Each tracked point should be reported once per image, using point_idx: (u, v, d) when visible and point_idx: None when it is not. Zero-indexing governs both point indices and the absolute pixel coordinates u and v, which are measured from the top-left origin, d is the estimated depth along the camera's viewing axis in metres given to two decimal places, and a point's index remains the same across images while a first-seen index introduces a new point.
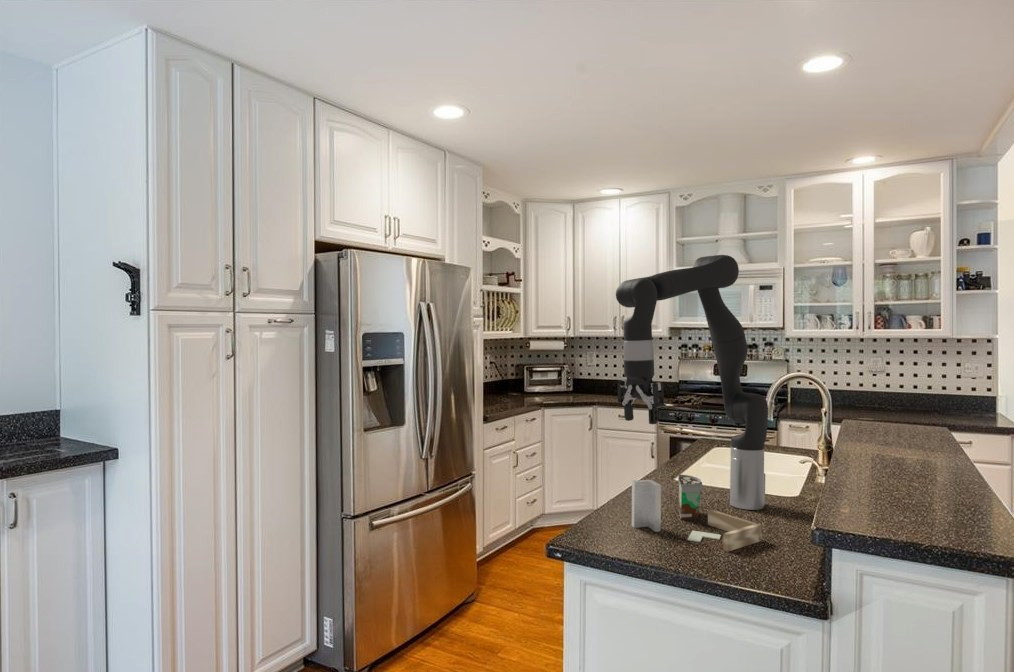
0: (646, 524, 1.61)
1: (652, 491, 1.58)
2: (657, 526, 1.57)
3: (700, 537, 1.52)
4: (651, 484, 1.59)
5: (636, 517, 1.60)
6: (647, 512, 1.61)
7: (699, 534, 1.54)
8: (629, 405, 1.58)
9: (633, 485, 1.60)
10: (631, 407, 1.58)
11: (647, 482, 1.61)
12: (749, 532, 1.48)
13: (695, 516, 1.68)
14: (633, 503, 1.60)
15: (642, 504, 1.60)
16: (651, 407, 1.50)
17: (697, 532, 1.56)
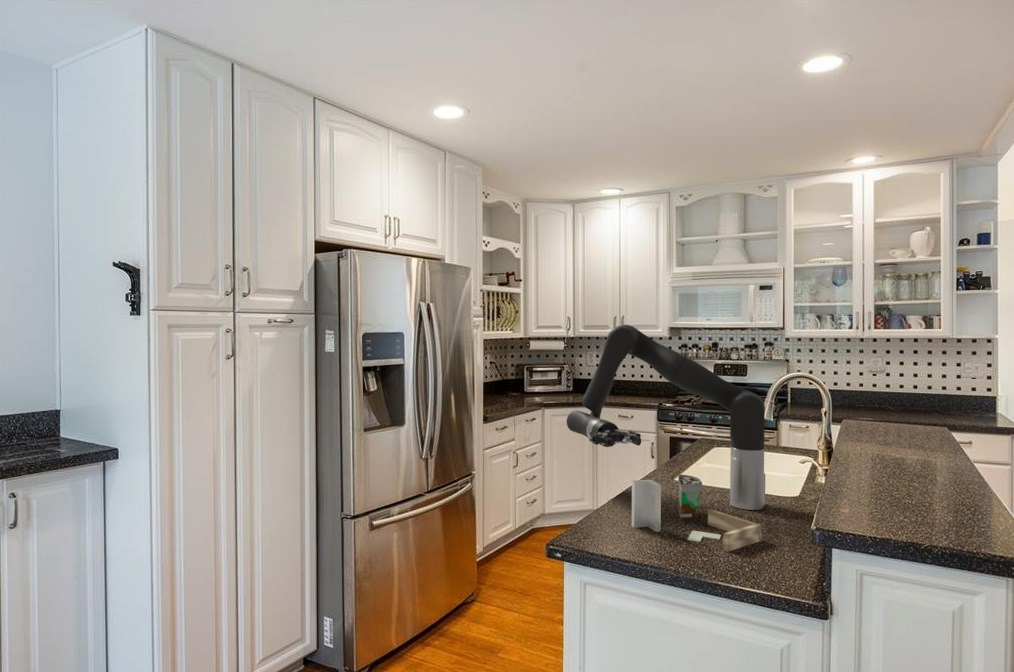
0: (646, 524, 1.61)
1: (652, 491, 1.58)
2: (657, 526, 1.57)
3: (700, 537, 1.52)
4: (651, 484, 1.59)
5: (636, 517, 1.60)
6: (647, 512, 1.61)
7: (699, 534, 1.54)
8: (632, 439, 1.76)
9: (633, 485, 1.60)
10: (632, 437, 1.75)
11: (647, 482, 1.61)
12: (749, 532, 1.48)
13: (695, 516, 1.68)
14: (633, 503, 1.60)
15: (642, 504, 1.60)
16: (602, 444, 1.74)
17: (697, 532, 1.56)
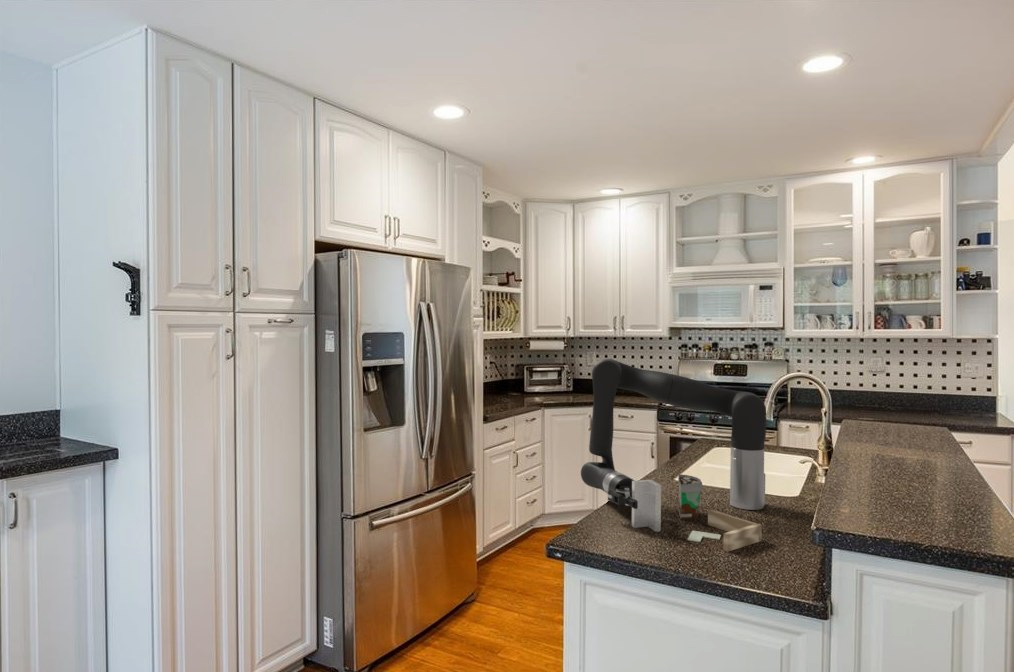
0: (646, 524, 1.61)
1: (652, 491, 1.58)
2: (657, 526, 1.57)
3: (700, 537, 1.52)
4: (651, 484, 1.59)
5: (636, 517, 1.60)
6: (647, 512, 1.61)
7: (699, 534, 1.54)
8: None
9: (633, 485, 1.60)
10: None
11: (647, 482, 1.61)
12: (749, 532, 1.48)
13: (695, 516, 1.68)
14: None
15: (642, 504, 1.60)
16: None
17: (697, 532, 1.56)
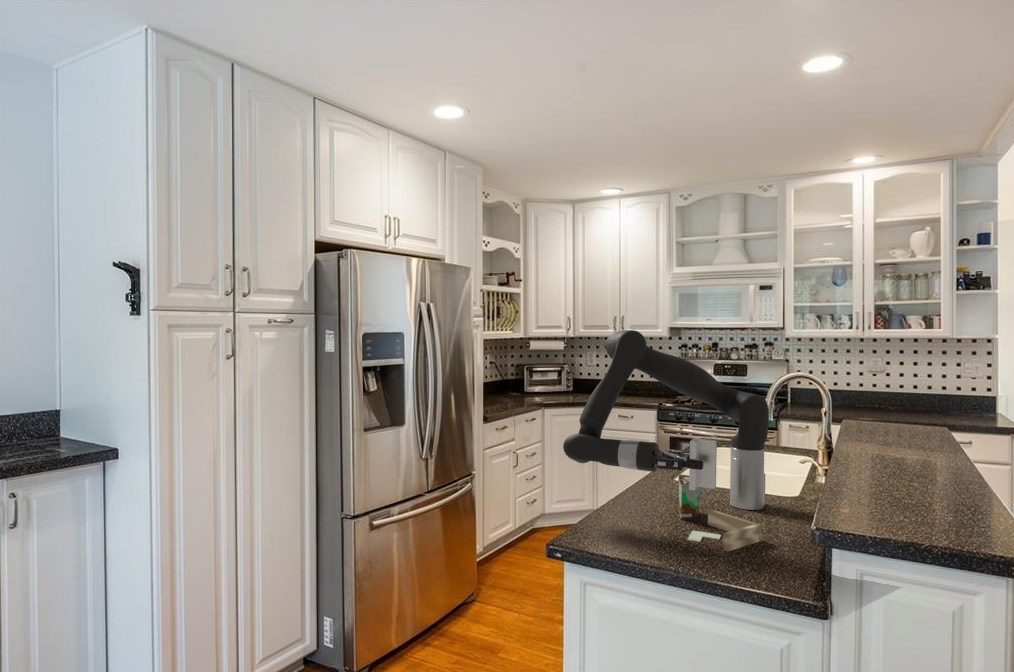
0: (698, 485, 1.54)
1: (709, 448, 1.53)
2: (715, 482, 1.53)
3: (700, 537, 1.52)
4: (706, 441, 1.53)
5: (696, 479, 1.51)
6: (698, 471, 1.54)
7: (699, 534, 1.54)
8: None
9: (693, 445, 1.51)
10: None
11: (699, 440, 1.54)
12: (749, 532, 1.48)
13: (695, 516, 1.68)
14: None
15: None
16: (684, 468, 1.51)
17: (697, 532, 1.56)
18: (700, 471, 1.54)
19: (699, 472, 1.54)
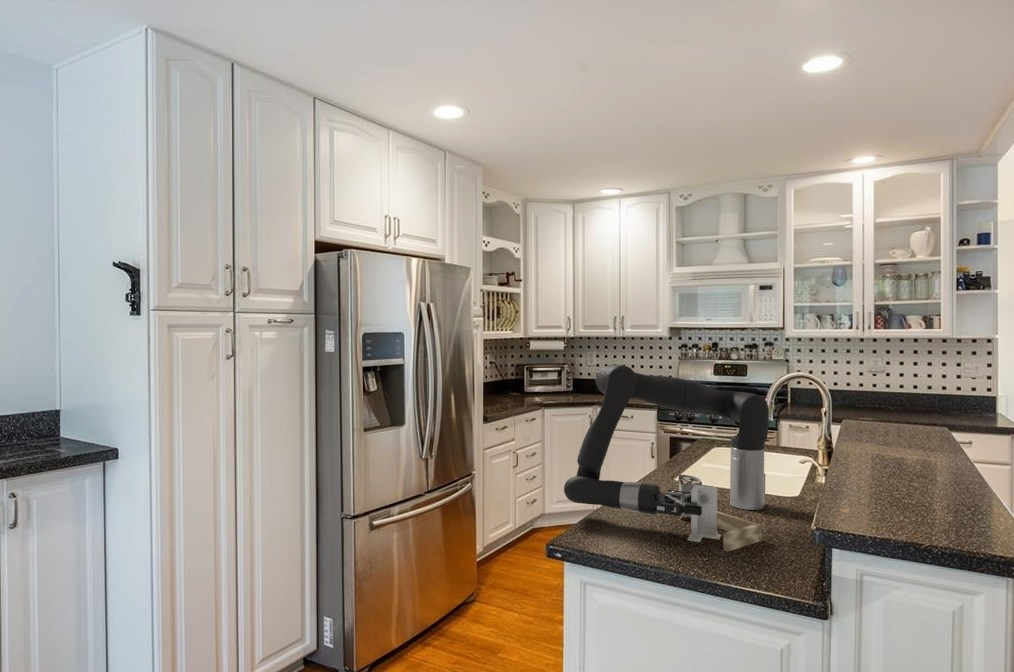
0: (699, 533, 1.54)
1: (709, 496, 1.53)
2: (716, 530, 1.53)
3: (700, 537, 1.52)
4: (707, 489, 1.53)
5: (697, 527, 1.51)
6: (699, 519, 1.54)
7: None
8: None
9: (695, 494, 1.51)
10: None
11: (700, 488, 1.54)
12: (749, 532, 1.48)
13: None
14: None
15: None
16: (683, 514, 1.50)
17: None
18: (701, 519, 1.54)
19: (700, 520, 1.54)
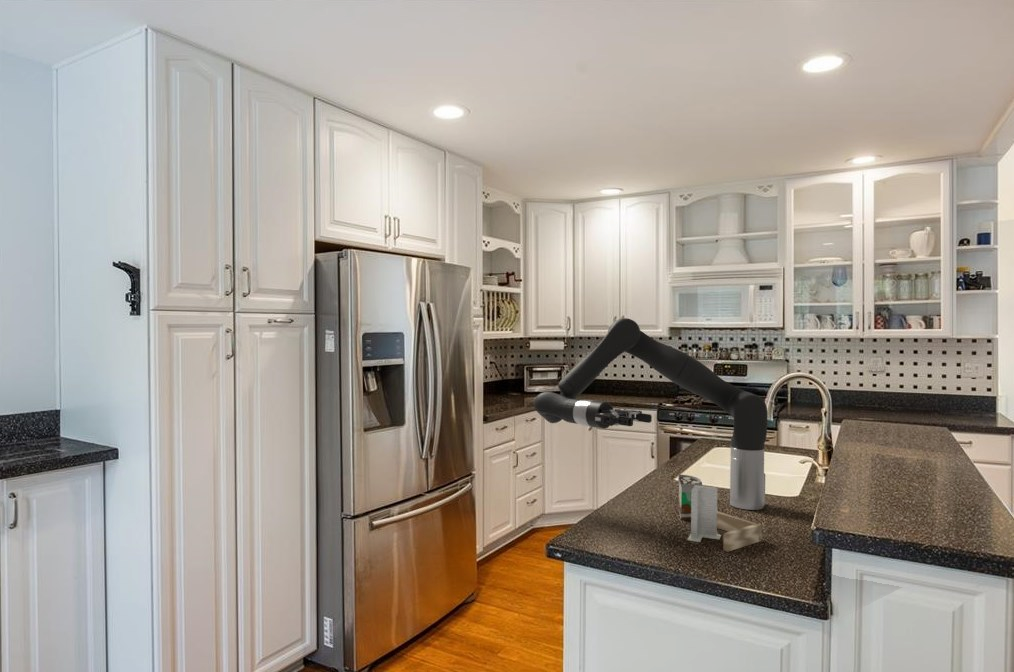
0: (699, 533, 1.54)
1: (710, 496, 1.53)
2: (716, 530, 1.53)
3: (700, 537, 1.52)
4: (707, 489, 1.53)
5: (697, 527, 1.51)
6: (699, 519, 1.54)
7: None
8: (638, 417, 1.66)
9: (695, 494, 1.51)
10: (639, 415, 1.66)
11: (700, 488, 1.54)
12: (749, 532, 1.48)
13: None
14: (695, 514, 1.51)
15: (698, 512, 1.53)
16: (616, 424, 1.60)
17: None
18: (701, 519, 1.54)
19: (700, 520, 1.54)
